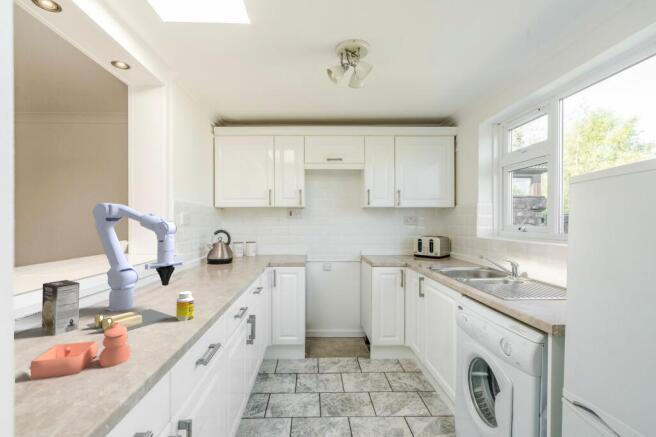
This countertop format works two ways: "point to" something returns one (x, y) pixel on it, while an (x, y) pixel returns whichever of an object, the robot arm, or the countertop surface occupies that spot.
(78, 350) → the pottery
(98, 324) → the bench dogs
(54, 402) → the countertop surface
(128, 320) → the cream beveled panel
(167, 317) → the board
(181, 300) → the supplement bottle
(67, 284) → the coffee box
